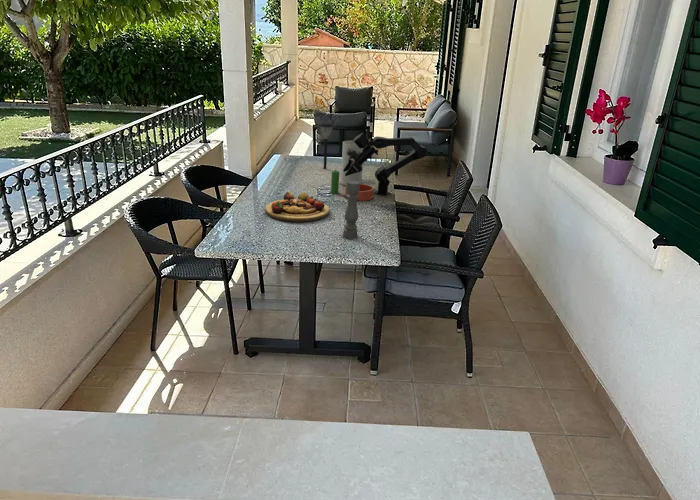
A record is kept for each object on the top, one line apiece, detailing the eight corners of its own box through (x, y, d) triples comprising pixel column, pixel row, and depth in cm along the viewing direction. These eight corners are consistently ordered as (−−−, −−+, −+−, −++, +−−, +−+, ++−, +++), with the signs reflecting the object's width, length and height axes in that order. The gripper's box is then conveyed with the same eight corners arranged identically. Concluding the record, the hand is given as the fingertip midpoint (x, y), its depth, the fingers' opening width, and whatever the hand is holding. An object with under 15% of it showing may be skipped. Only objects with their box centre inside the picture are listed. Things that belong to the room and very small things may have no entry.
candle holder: (342, 233, 229) (345, 180, 219) (356, 234, 230) (359, 180, 220) (343, 238, 223) (346, 184, 213) (357, 239, 224) (361, 184, 214)
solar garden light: (317, 165, 345) (319, 120, 333) (335, 167, 343) (337, 122, 332) (314, 169, 333) (315, 123, 322) (332, 171, 332) (334, 125, 320)
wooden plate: (278, 226, 233) (278, 209, 230) (256, 205, 259) (256, 190, 256) (340, 218, 247) (340, 202, 244) (314, 199, 273) (314, 185, 270)
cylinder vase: (350, 188, 298) (352, 145, 289) (336, 183, 307) (338, 141, 297) (365, 185, 306) (368, 143, 296) (352, 180, 315) (354, 140, 305)
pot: (354, 191, 293) (354, 182, 290) (377, 196, 285) (378, 187, 283) (339, 197, 280) (340, 187, 278) (364, 203, 273) (365, 193, 271)
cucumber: (333, 191, 291) (334, 168, 285) (339, 192, 289) (340, 169, 284) (329, 192, 287) (330, 170, 282) (335, 194, 285) (336, 171, 280)
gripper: (353, 140, 287) (333, 159, 290) (357, 147, 270) (336, 167, 273) (366, 154, 291) (346, 172, 294) (371, 162, 274) (349, 181, 277)
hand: (344, 173), depth 284 cm, fingers open, 9 cm apart
